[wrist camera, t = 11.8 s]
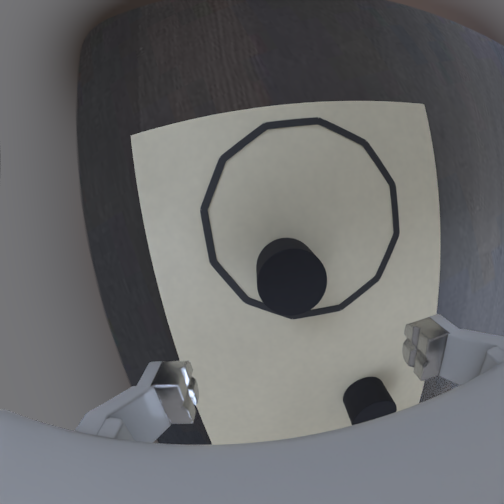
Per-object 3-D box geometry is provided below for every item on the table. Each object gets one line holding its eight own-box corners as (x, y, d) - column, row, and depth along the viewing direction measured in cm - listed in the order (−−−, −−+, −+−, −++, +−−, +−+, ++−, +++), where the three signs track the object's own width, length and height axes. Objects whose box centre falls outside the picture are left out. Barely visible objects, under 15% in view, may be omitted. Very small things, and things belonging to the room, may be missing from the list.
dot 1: (341, 412, 22) (351, 438, 19) (343, 382, 21) (354, 408, 18) (380, 401, 22) (393, 425, 19) (385, 371, 21) (400, 395, 18)
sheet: (216, 447, 24) (215, 452, 23) (133, 136, 18) (129, 135, 17) (414, 409, 23) (416, 413, 23) (420, 105, 17) (425, 103, 16)
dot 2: (261, 298, 19) (262, 320, 16) (252, 242, 19) (251, 254, 15) (317, 289, 19) (329, 309, 16) (311, 233, 18) (324, 243, 15)
